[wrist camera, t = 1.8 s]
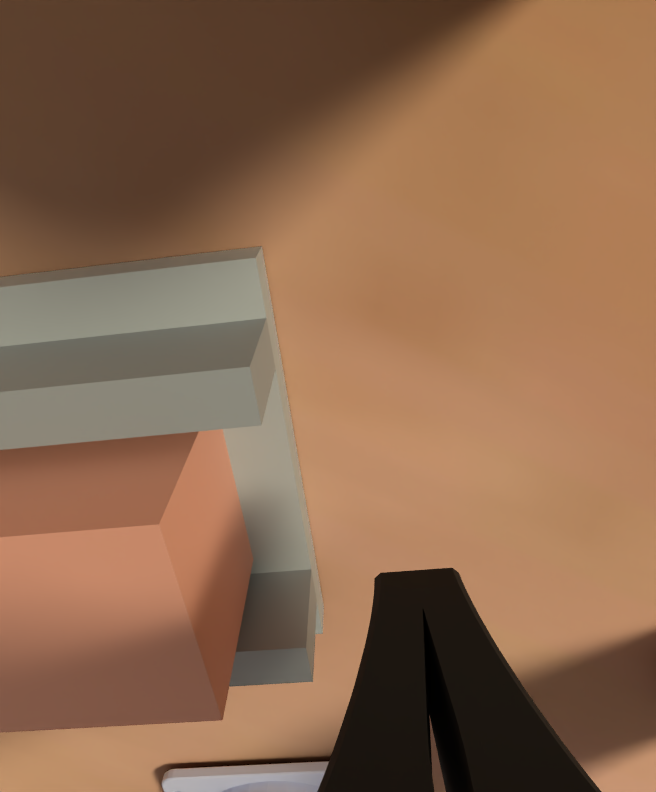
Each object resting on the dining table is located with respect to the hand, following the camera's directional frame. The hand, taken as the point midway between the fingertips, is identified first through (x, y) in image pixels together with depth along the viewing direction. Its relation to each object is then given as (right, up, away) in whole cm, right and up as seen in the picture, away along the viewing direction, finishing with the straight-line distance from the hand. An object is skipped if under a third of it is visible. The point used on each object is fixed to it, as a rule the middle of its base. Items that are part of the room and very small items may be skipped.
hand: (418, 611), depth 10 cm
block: (-7, +1, +4) cm, 8 cm away
